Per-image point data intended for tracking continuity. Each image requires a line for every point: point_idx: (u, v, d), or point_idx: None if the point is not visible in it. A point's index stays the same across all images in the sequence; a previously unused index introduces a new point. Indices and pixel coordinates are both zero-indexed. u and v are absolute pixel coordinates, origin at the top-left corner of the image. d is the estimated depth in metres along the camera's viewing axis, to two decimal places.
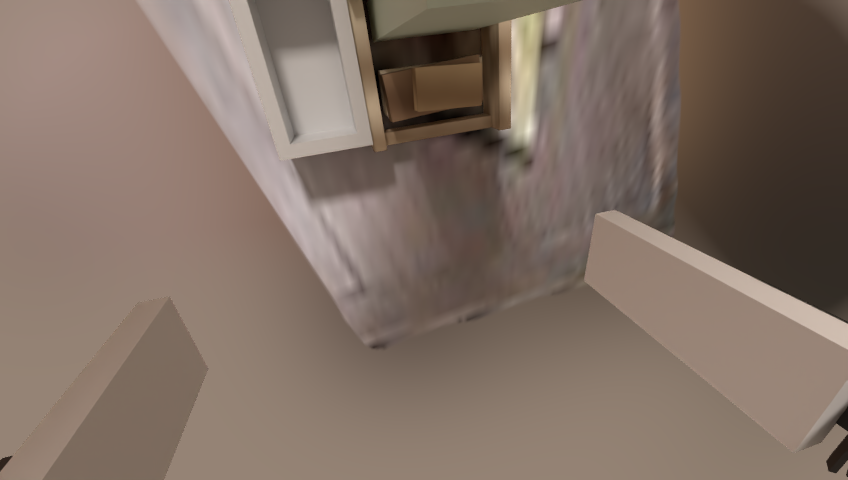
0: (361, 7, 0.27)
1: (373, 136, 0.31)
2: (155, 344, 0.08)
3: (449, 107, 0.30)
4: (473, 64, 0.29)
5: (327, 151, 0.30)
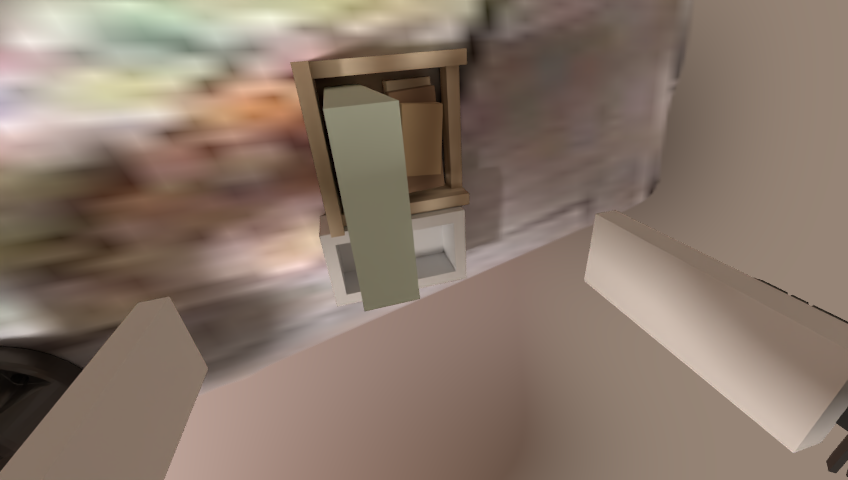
0: None
1: (456, 205, 0.34)
2: (155, 344, 0.08)
3: (440, 141, 0.30)
4: (403, 114, 0.28)
5: (464, 246, 0.36)
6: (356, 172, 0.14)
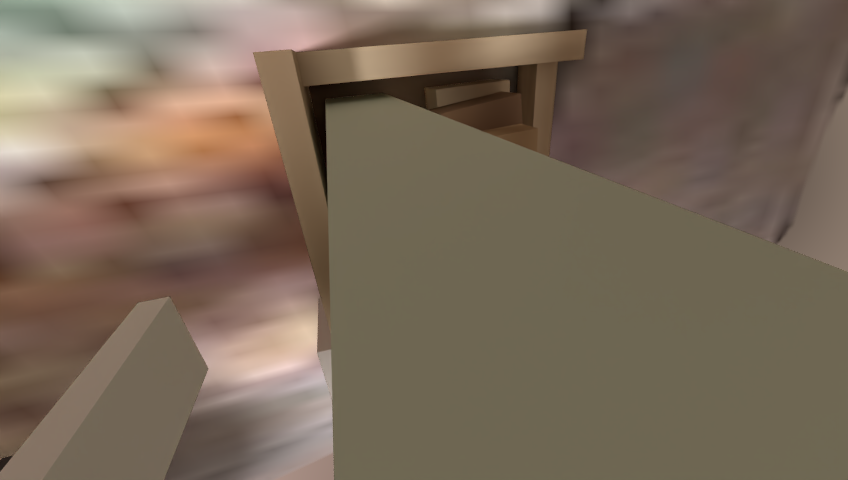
0: None
1: None
2: (155, 344, 0.08)
3: None
4: None
5: None
6: None
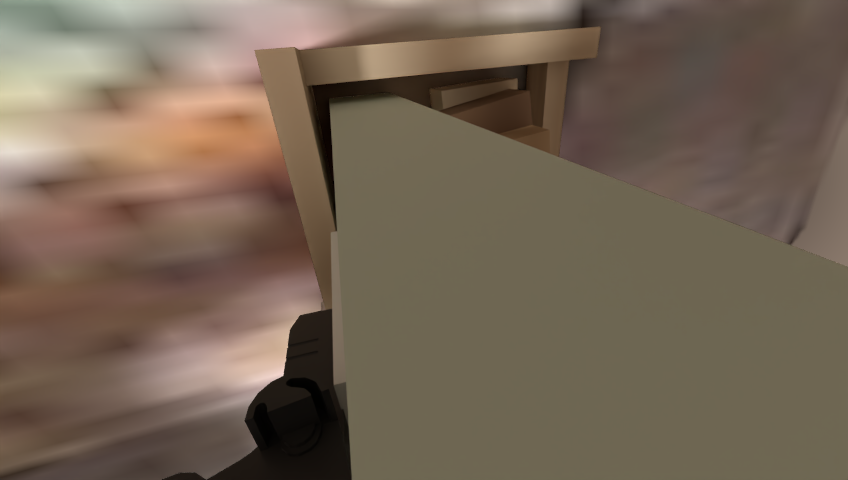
0: None
1: None
2: None
3: None
4: None
5: None
6: None
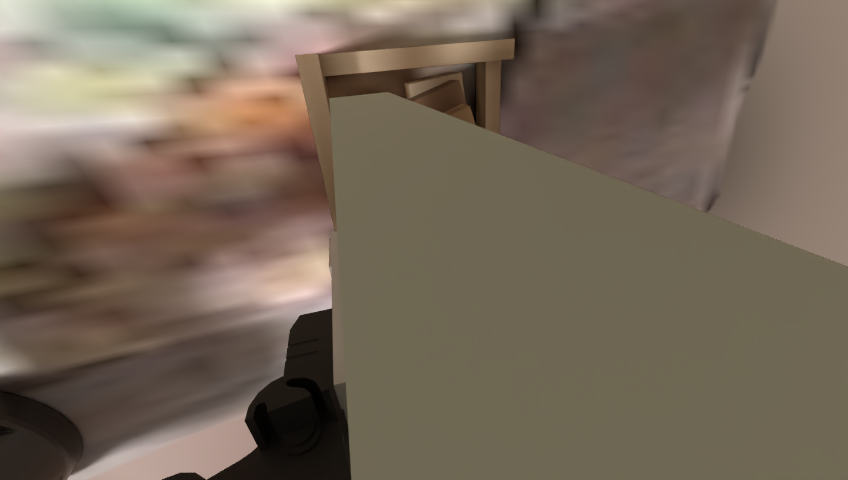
0: None
1: None
2: None
3: None
4: None
5: None
6: None
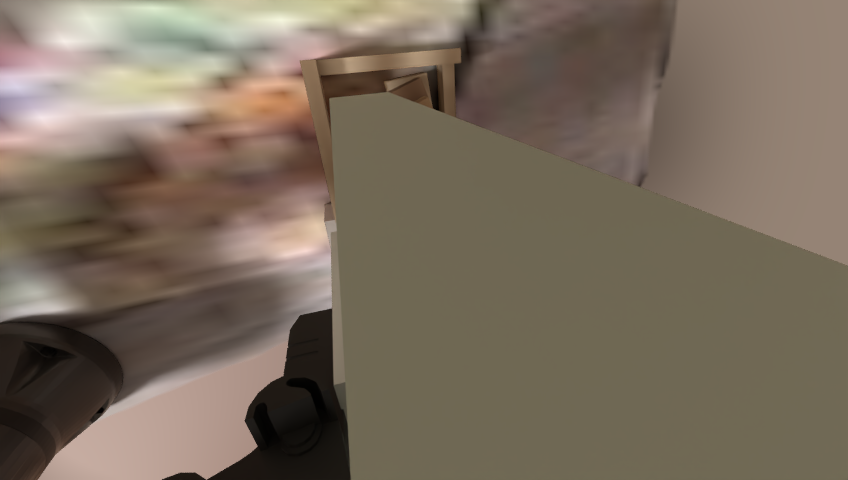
0: None
1: None
2: None
3: None
4: None
5: None
6: None
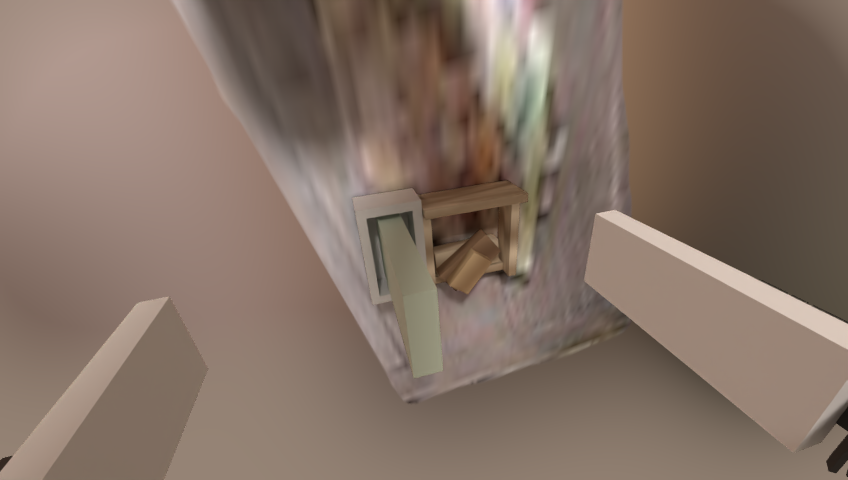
0: (430, 222, 0.45)
1: None
2: (155, 344, 0.08)
3: (478, 278, 0.49)
4: (471, 257, 0.47)
5: None
6: (415, 318, 0.30)
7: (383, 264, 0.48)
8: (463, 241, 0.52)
